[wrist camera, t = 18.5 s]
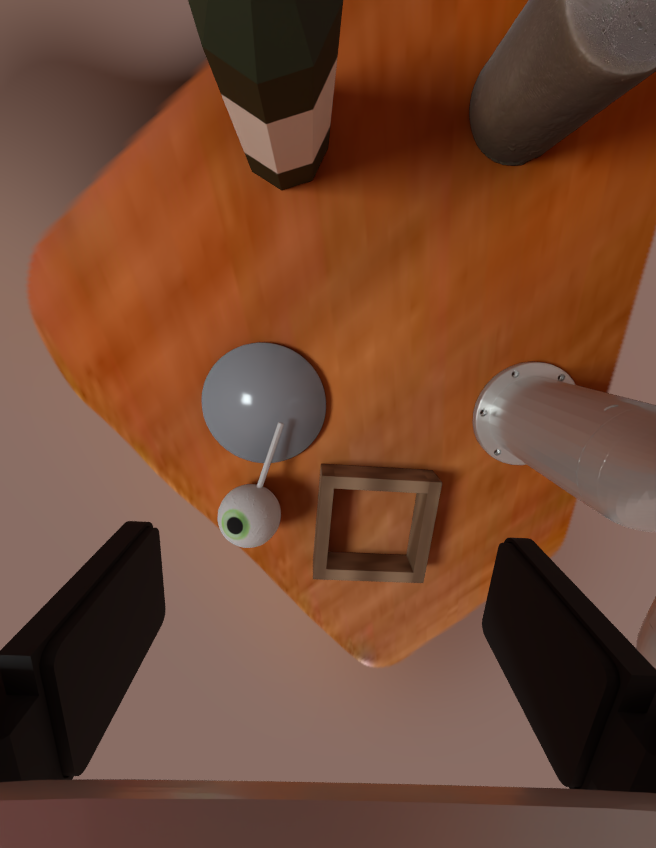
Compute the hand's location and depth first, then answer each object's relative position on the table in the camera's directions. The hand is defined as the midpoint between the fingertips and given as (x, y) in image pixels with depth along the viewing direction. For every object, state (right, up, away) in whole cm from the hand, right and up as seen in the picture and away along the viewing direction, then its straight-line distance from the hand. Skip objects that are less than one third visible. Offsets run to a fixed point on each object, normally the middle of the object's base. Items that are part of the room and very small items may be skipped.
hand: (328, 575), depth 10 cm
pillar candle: (+18, +35, +25) cm, 46 cm away
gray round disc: (-7, +6, +32) cm, 33 cm away
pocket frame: (+6, -8, +36) cm, 38 cm away
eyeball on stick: (-5, +4, +30) cm, 31 cm away
